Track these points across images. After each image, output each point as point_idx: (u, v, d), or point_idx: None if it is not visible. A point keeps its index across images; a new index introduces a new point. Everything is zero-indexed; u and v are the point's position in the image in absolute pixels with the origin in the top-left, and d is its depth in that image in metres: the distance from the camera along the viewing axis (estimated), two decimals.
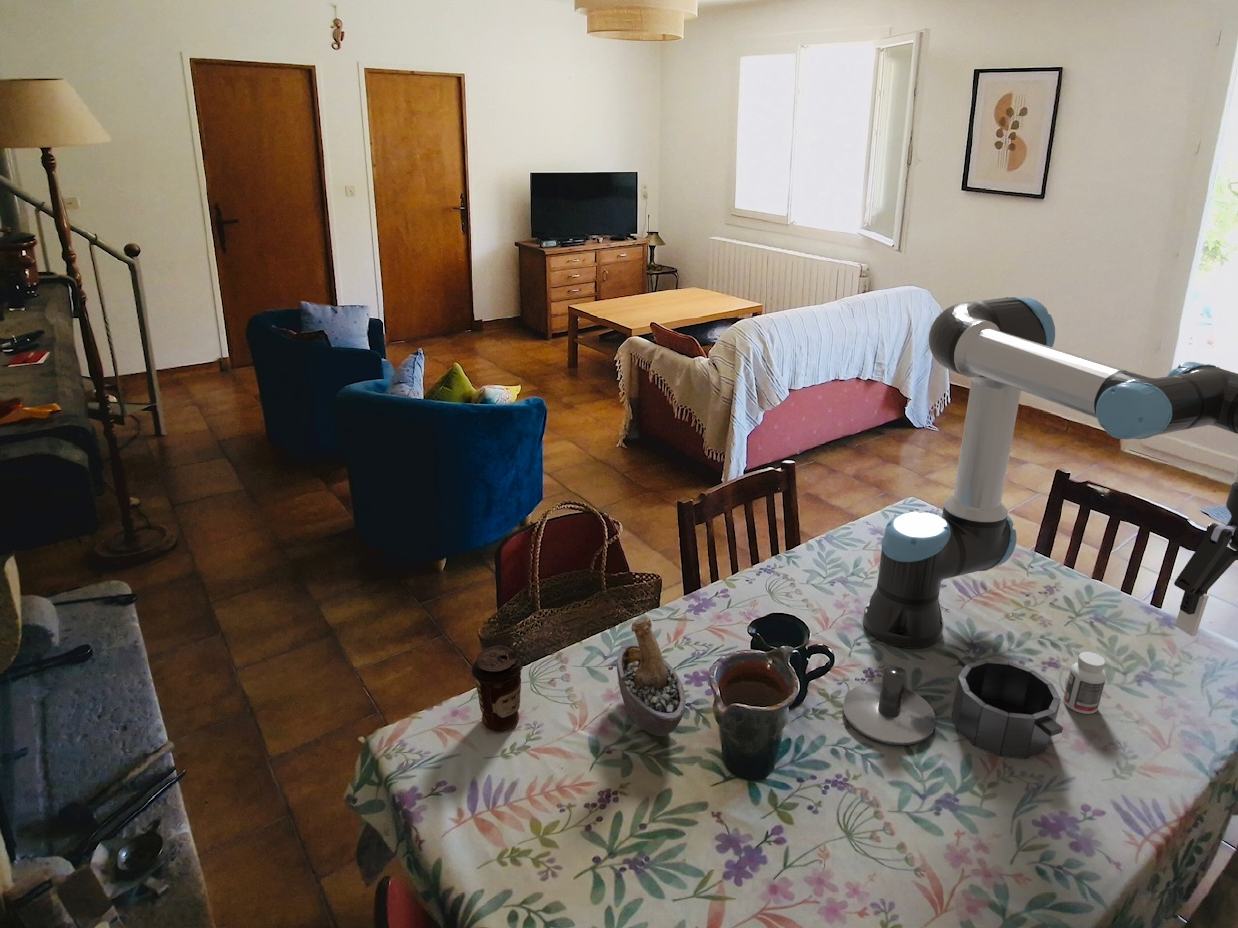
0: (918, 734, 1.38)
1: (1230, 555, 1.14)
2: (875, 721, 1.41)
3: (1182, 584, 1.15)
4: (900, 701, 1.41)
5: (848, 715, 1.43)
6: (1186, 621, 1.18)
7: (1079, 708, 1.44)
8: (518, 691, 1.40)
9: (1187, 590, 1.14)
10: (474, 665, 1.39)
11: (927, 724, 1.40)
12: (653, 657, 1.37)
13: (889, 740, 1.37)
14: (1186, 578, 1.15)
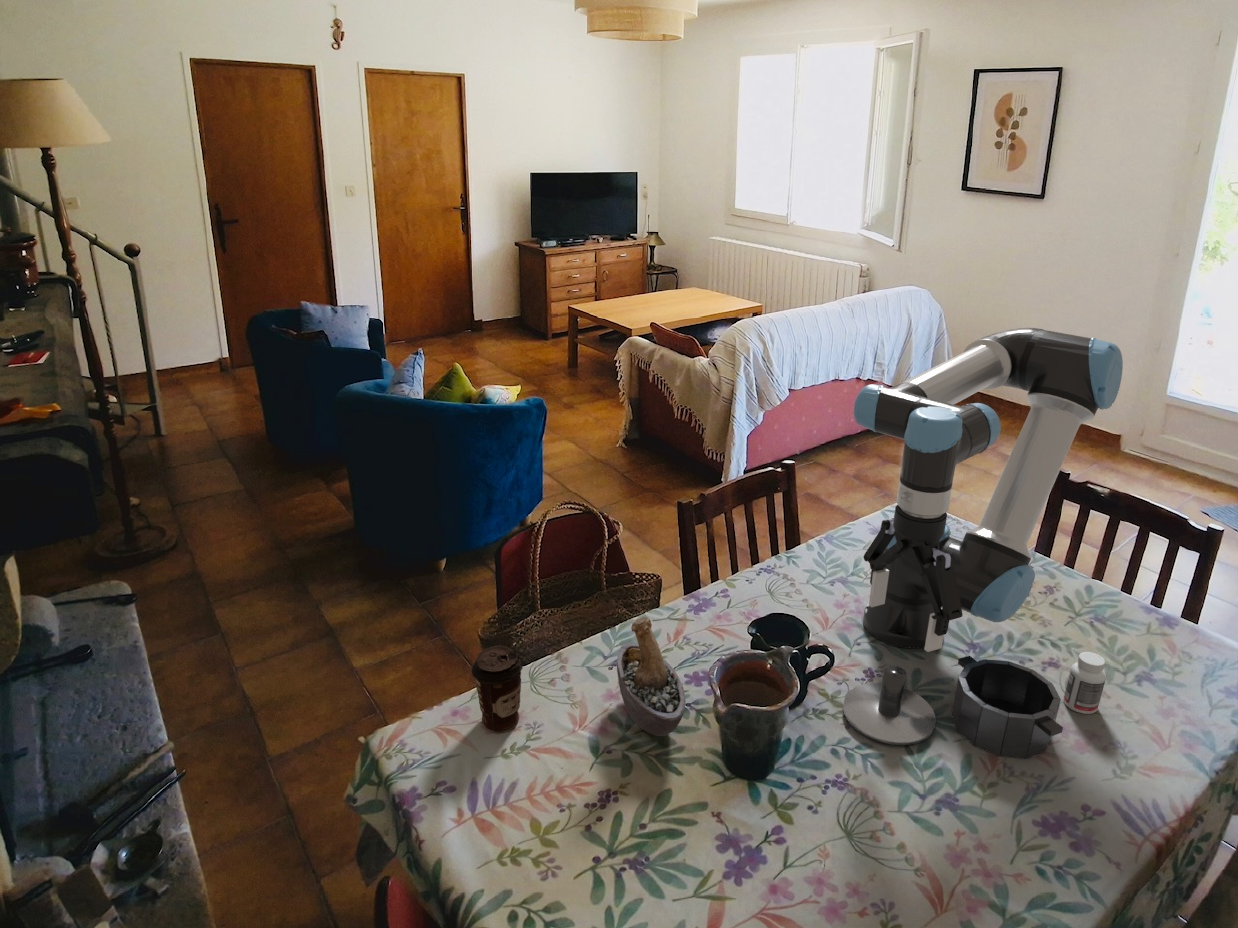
0: (918, 734, 1.38)
1: None
2: (875, 721, 1.41)
3: None
4: (900, 701, 1.41)
5: (848, 715, 1.43)
6: None
7: (1079, 708, 1.44)
8: (518, 691, 1.40)
9: None
10: (474, 665, 1.39)
11: (927, 724, 1.40)
12: (653, 657, 1.37)
13: (889, 740, 1.37)
14: None
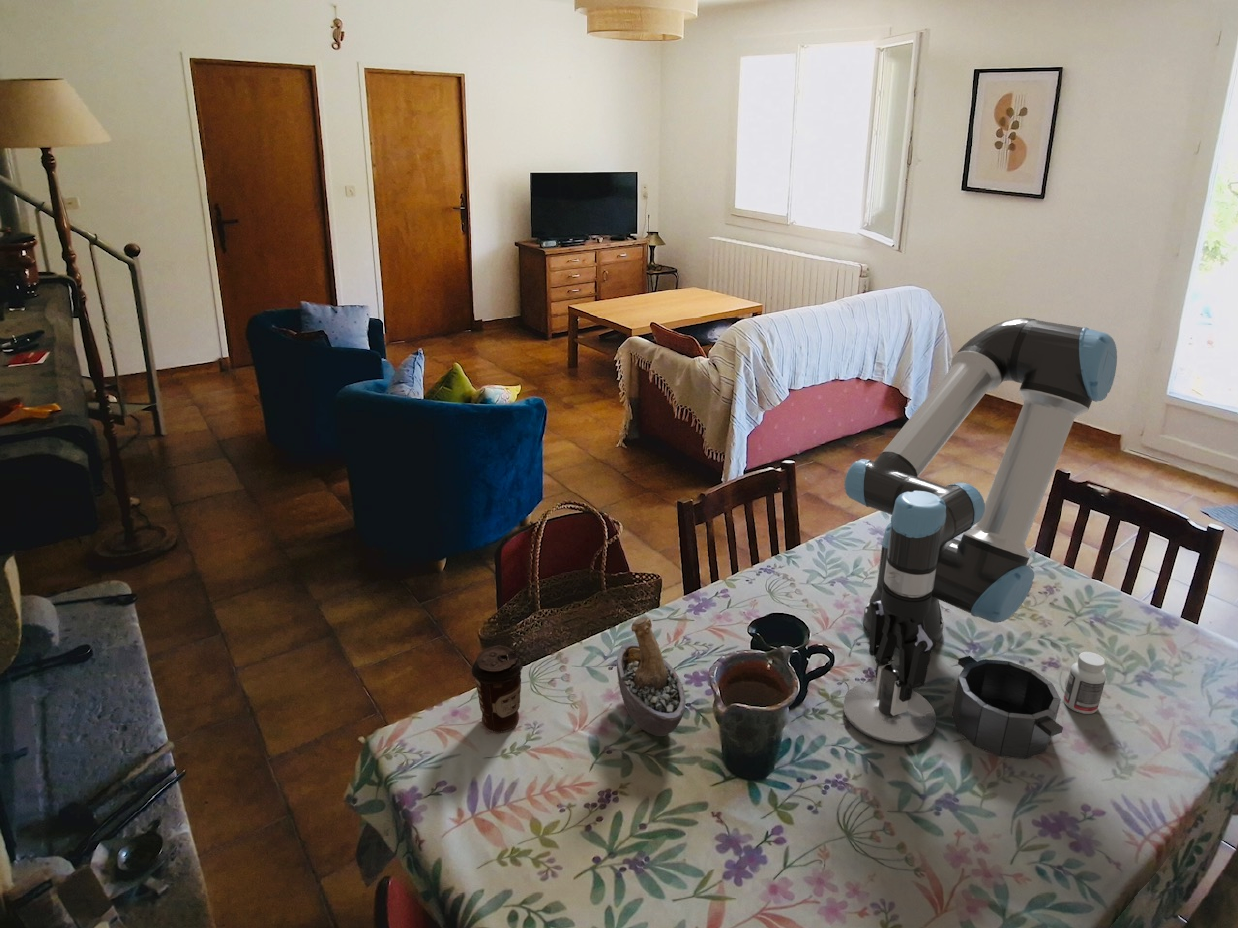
0: (919, 733, 1.38)
1: None
2: (876, 720, 1.41)
3: None
4: None
5: (848, 714, 1.42)
6: None
7: (1079, 708, 1.44)
8: (518, 691, 1.40)
9: None
10: (474, 665, 1.39)
11: (927, 723, 1.40)
12: (653, 657, 1.37)
13: (889, 739, 1.37)
14: None
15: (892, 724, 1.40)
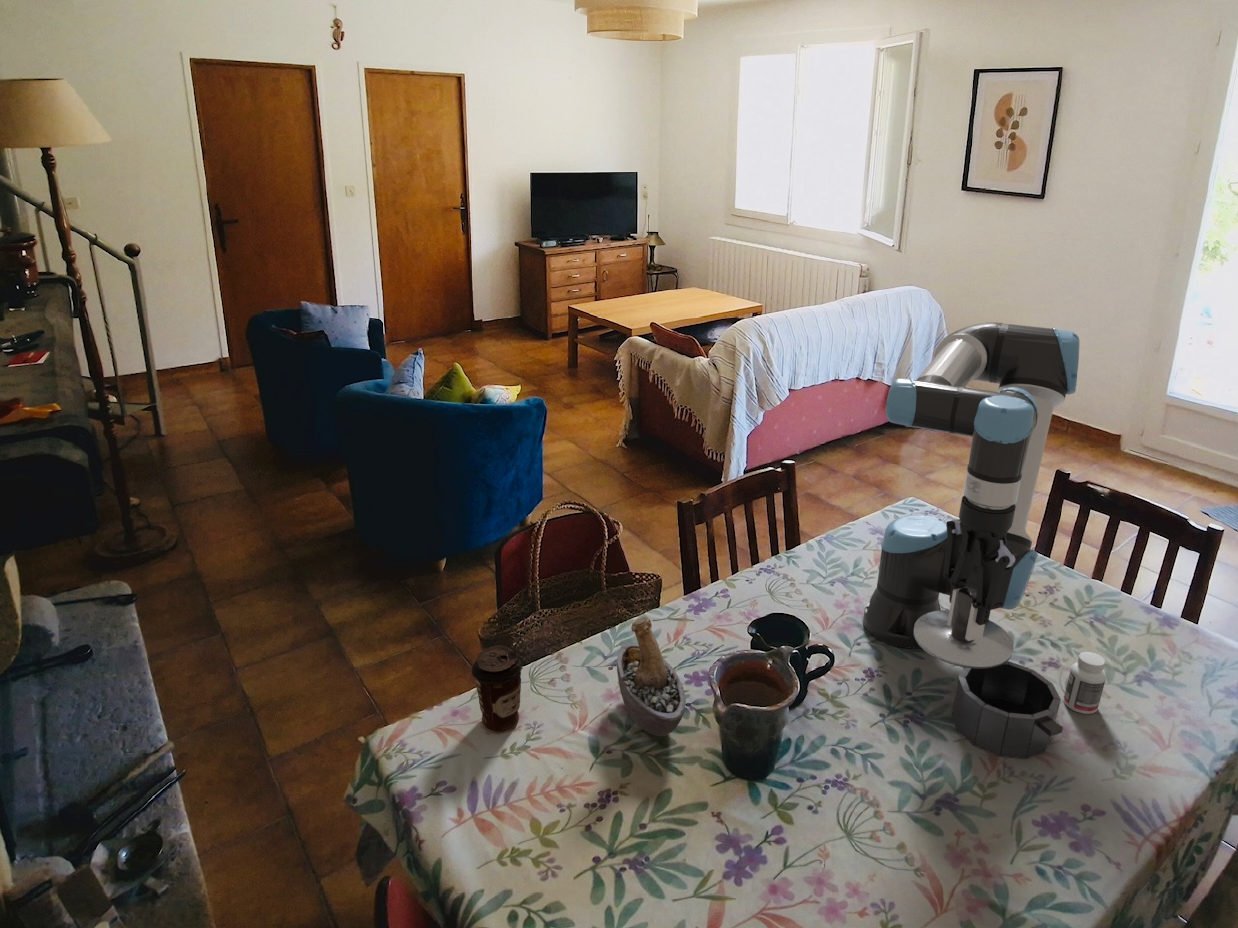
0: (996, 658, 1.30)
1: None
2: (949, 646, 1.33)
3: None
4: None
5: (919, 639, 1.35)
6: None
7: (1079, 708, 1.44)
8: (518, 691, 1.40)
9: None
10: (474, 665, 1.39)
11: (1005, 650, 1.32)
12: (653, 657, 1.37)
13: (964, 663, 1.29)
14: None
15: (966, 650, 1.32)
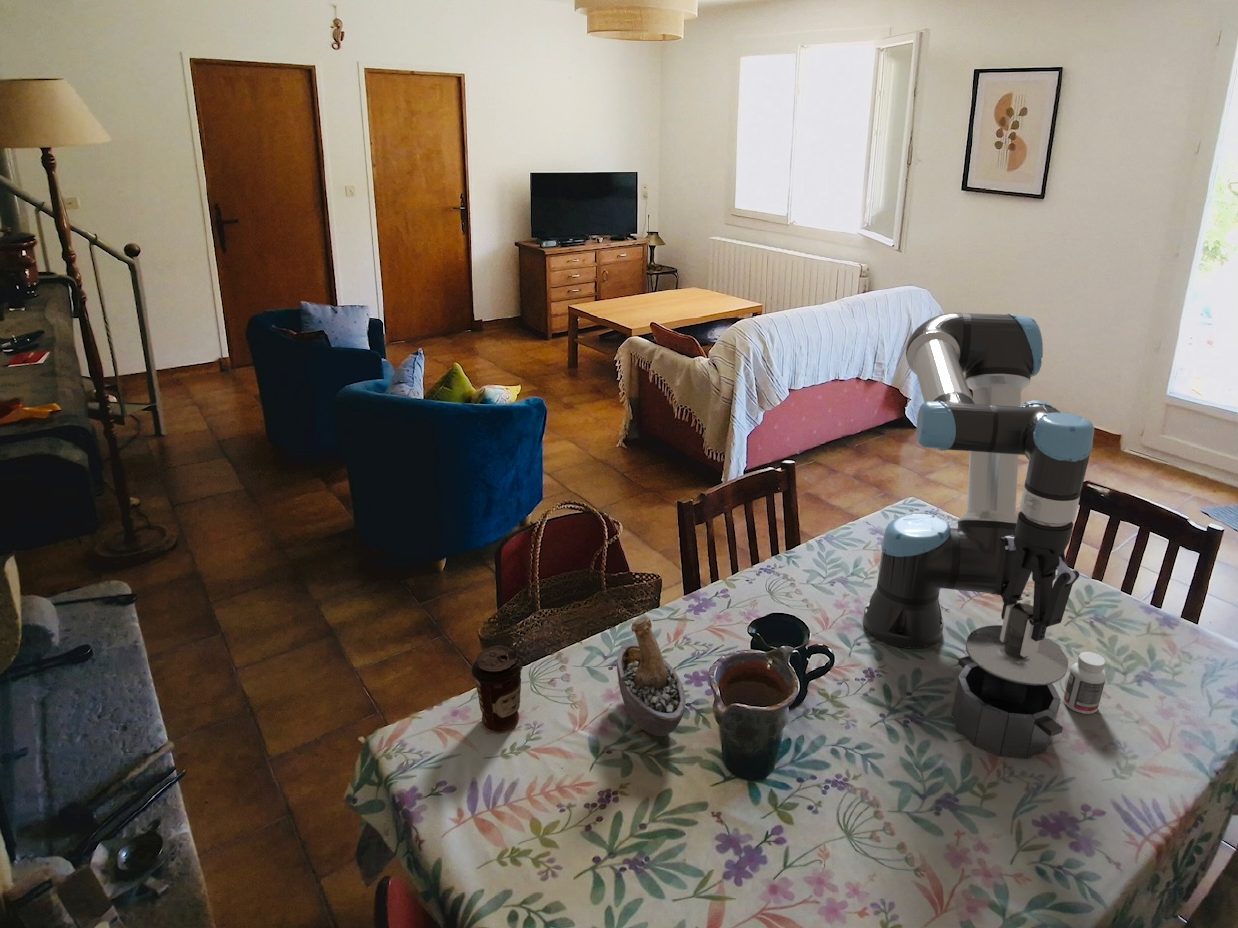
0: (1053, 674, 1.30)
1: None
2: (1004, 662, 1.33)
3: None
4: None
5: (974, 656, 1.35)
6: None
7: (1079, 708, 1.44)
8: (518, 691, 1.40)
9: None
10: (474, 665, 1.39)
11: (1060, 665, 1.33)
12: (653, 657, 1.37)
13: (1023, 680, 1.29)
14: None
15: (1023, 666, 1.32)
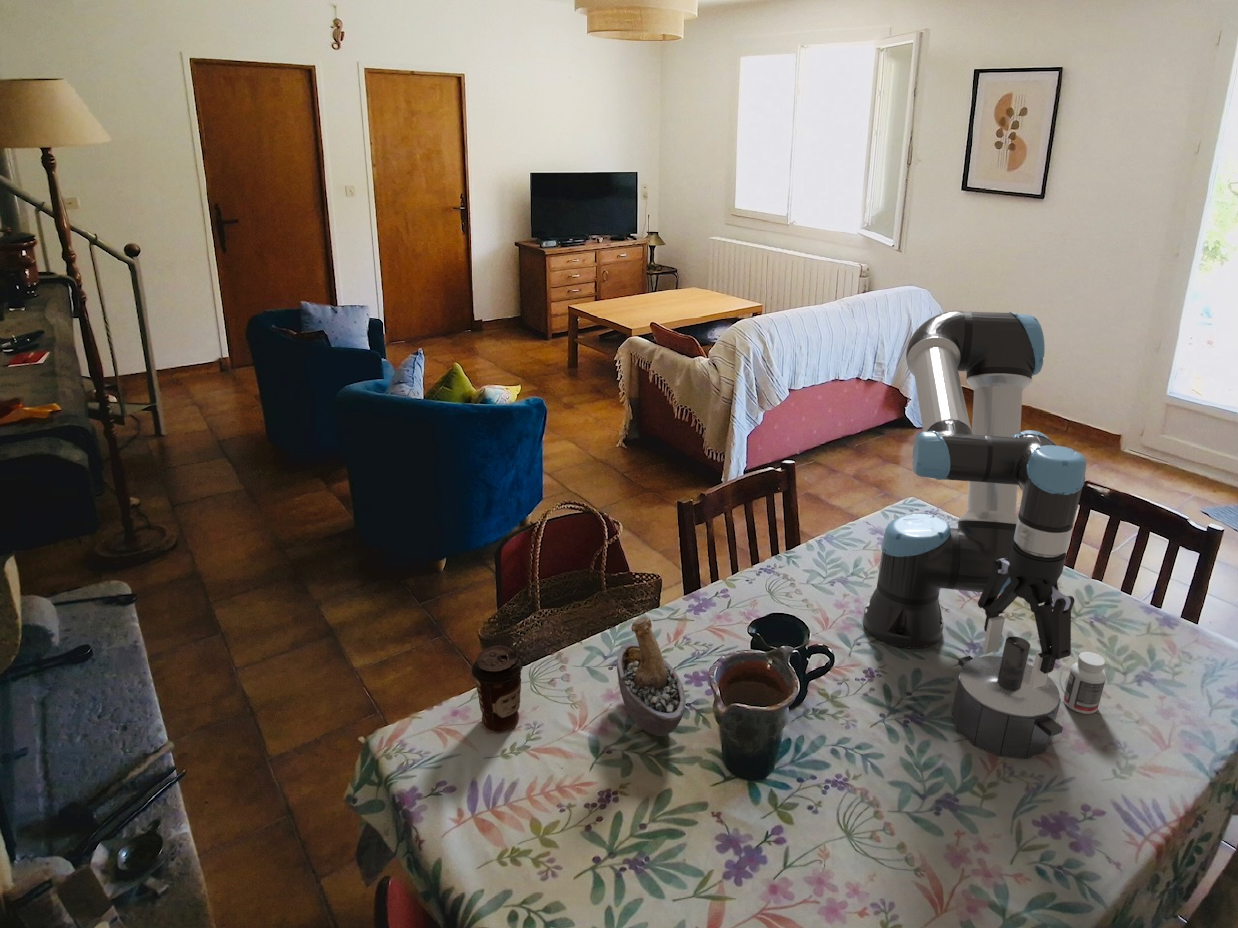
0: (1045, 707, 1.33)
1: None
2: (997, 694, 1.36)
3: None
4: (1023, 673, 1.36)
5: (968, 688, 1.37)
6: None
7: (1079, 708, 1.44)
8: (518, 691, 1.40)
9: None
10: (474, 665, 1.39)
11: (1051, 697, 1.35)
12: (653, 657, 1.37)
13: (1015, 713, 1.32)
14: None
15: (1015, 698, 1.35)
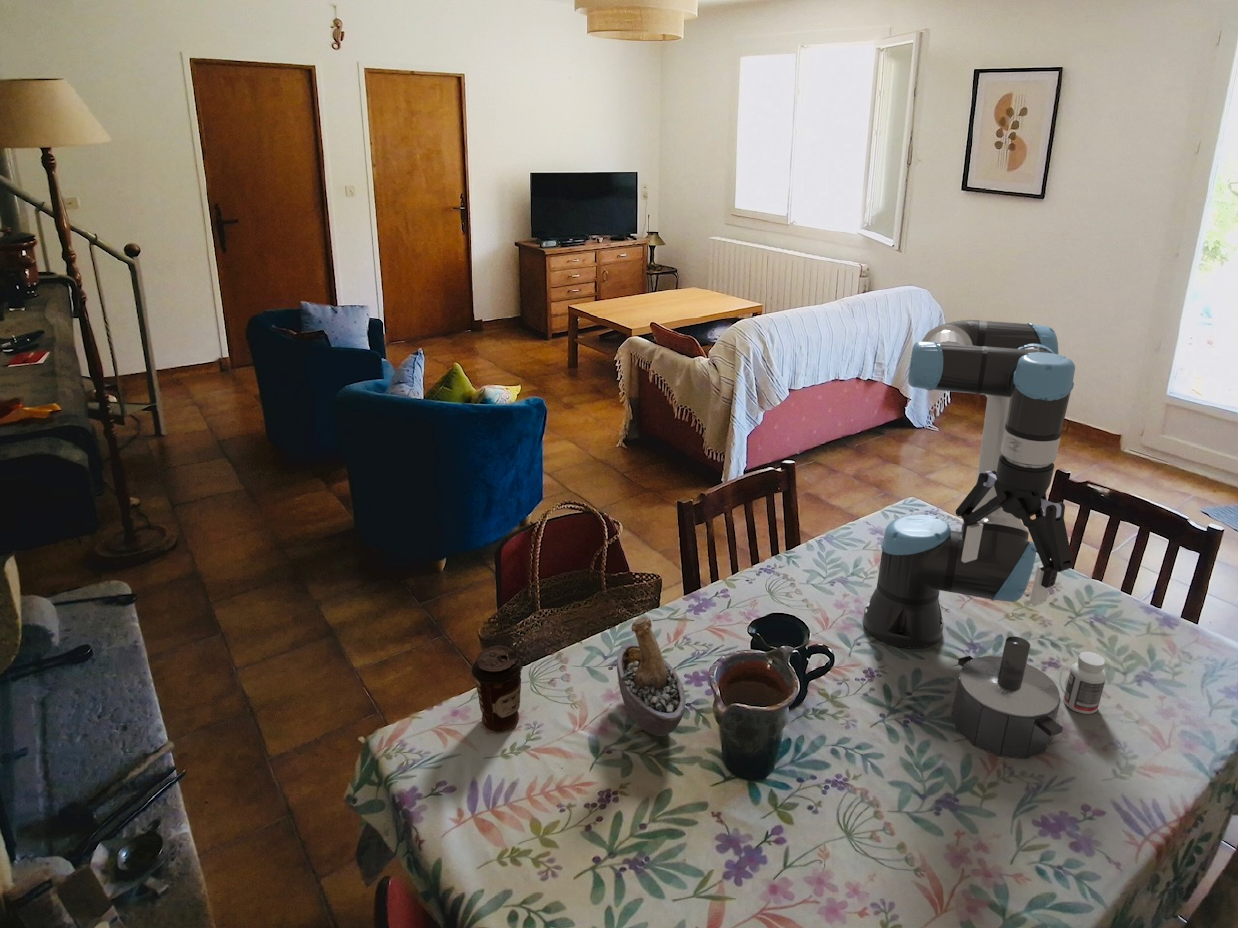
0: (1045, 707, 1.33)
1: None
2: (997, 694, 1.36)
3: None
4: (1023, 673, 1.36)
5: (968, 688, 1.37)
6: None
7: (1079, 708, 1.44)
8: (518, 691, 1.40)
9: (957, 511, 1.39)
10: (474, 665, 1.39)
11: (1051, 697, 1.35)
12: (653, 657, 1.37)
13: (1015, 713, 1.32)
14: None
15: (1015, 698, 1.35)
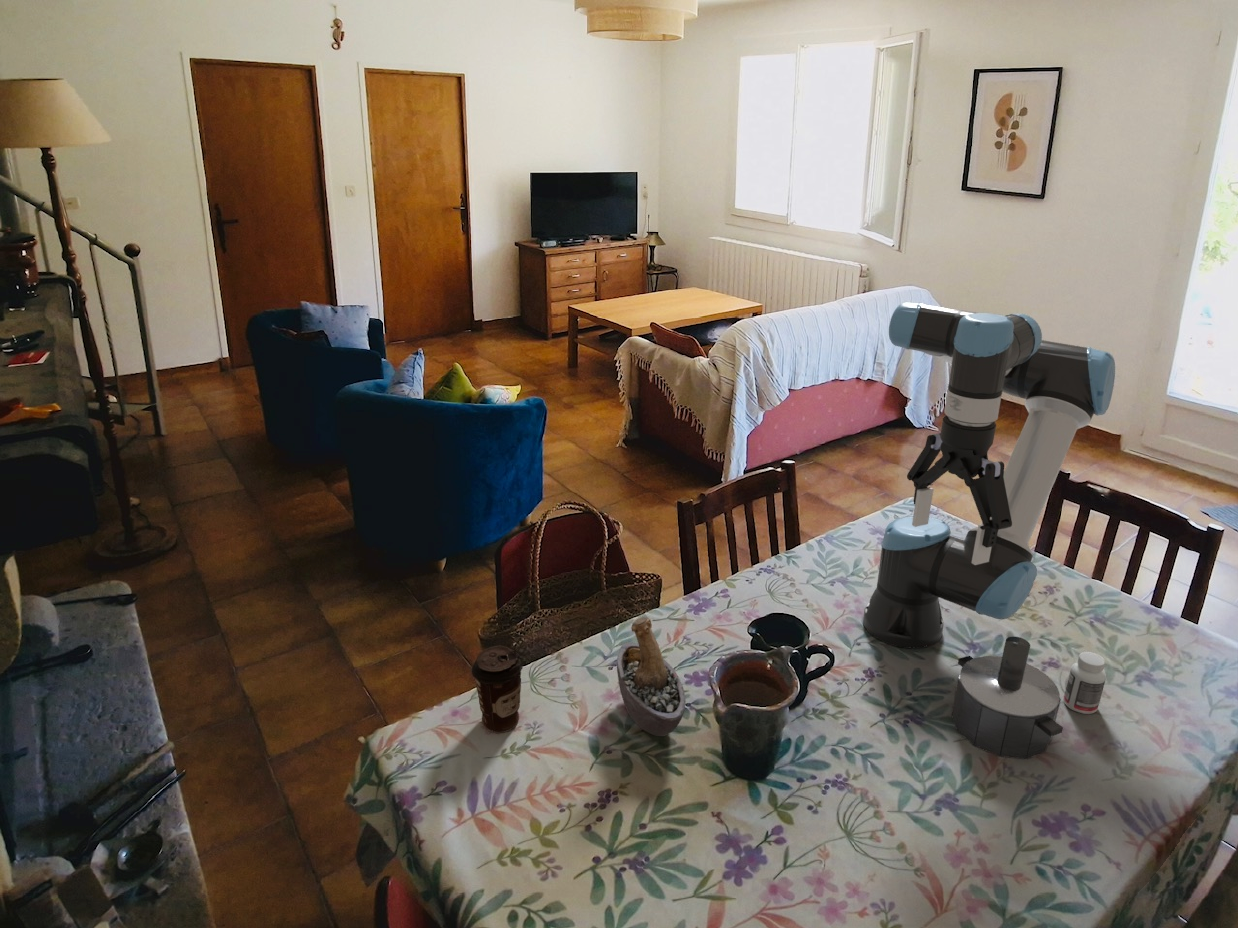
0: (1045, 707, 1.33)
1: None
2: (997, 694, 1.36)
3: None
4: (1023, 673, 1.36)
5: (968, 688, 1.37)
6: None
7: (1079, 708, 1.44)
8: (518, 691, 1.40)
9: None
10: (474, 665, 1.39)
11: (1051, 697, 1.35)
12: (653, 657, 1.37)
13: (1015, 713, 1.32)
14: None
15: (1015, 698, 1.35)
